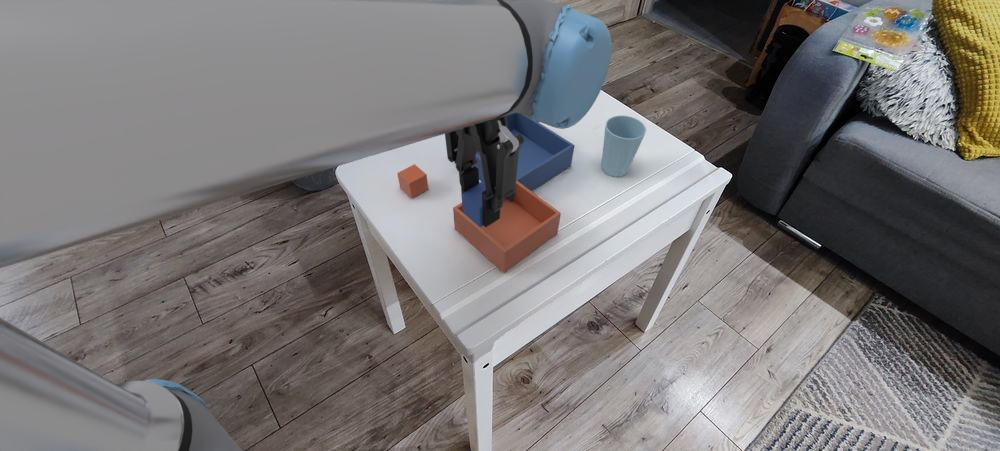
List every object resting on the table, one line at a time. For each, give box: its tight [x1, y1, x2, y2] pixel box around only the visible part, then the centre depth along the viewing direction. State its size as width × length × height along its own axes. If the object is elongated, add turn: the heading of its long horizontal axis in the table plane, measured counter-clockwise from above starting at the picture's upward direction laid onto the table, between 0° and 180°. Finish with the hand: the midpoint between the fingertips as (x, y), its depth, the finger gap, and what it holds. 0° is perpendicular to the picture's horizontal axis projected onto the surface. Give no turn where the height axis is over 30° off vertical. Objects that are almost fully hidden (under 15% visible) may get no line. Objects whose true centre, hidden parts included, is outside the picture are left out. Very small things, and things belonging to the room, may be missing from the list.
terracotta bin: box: [452, 180, 562, 274], centre depth 80 cm, size 13×13×6 cm
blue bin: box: [454, 113, 575, 202], centre depth 93 cm, size 17×17×6 cm
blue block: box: [461, 181, 486, 227], centre depth 66 cm, size 4×4×4 cm
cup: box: [600, 115, 647, 178], centre depth 91 cm, size 8×8×10 cm
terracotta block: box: [396, 163, 429, 200], centre depth 88 cm, size 4×4×4 cm
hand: (480, 212), depth 68 cm, fingers closed on blue block, 4 cm apart
